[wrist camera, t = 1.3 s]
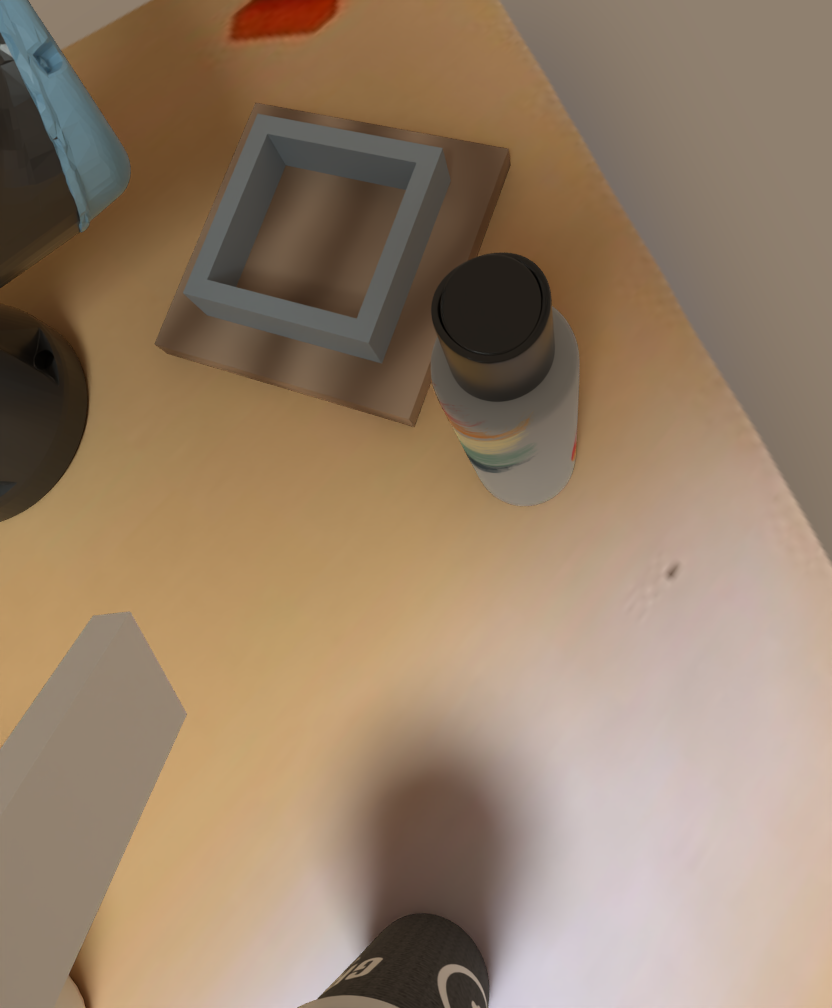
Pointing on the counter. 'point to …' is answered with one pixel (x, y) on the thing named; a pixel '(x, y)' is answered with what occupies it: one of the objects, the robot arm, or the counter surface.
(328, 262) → the stand board
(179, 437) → the counter surface
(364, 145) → the bottle collar
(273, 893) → the counter surface
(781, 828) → the counter surface
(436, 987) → the coffee cup
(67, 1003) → the milk bottle
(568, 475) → the lotion bottle
